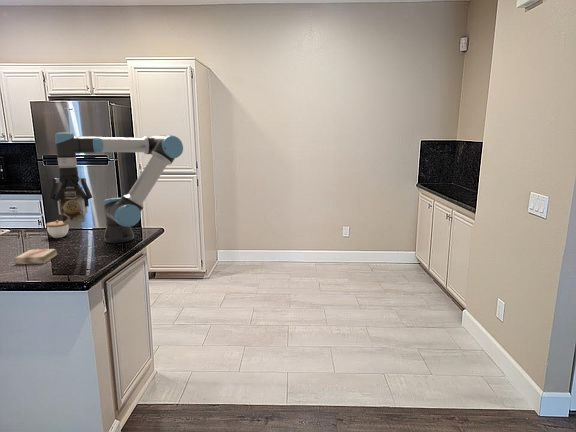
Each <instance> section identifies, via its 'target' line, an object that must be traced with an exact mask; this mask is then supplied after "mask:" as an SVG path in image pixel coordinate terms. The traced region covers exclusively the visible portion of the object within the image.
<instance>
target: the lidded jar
mask: <svg viewBox="0 0 576 432" xmlns="http://www.w3.org/2000/svg"><path fill="white" fill-rule="evenodd" d="M45 226H46V229H47V232H48V234H49V236H51V237H52V238H53V239H58V238H63V237H66V235H67V234H68V233H69V229H70V227H69V226H70V225H69V223H65V224H63V220H59V219H56V220H55V221H50V222H47V223H46V225H45Z"/></svg>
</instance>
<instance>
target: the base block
mask: <svg viewBox="0 0 576 432" xmlns="http://www.w3.org/2000/svg"><path fill="white" fill-rule="evenodd" d="M57 255H58V252H57V248H43V249H42V248H41V249H37V248H36V249H28V250H27V251H24V252H23V253H21V254H19V255H17V256H15V257H14V261H15V265H32V264H34V265H35V264H46V263H47V262H49V261H50V260H51V259H53V258H55V257H57Z"/></svg>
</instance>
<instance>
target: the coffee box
mask: <svg viewBox="0 0 576 432" xmlns="http://www.w3.org/2000/svg"><path fill="white" fill-rule="evenodd" d="M80 187H81V188H79V189H75V188H74V187H66V188H63V189H60V188H59V189H58V192H60V201H61V210H62V214H61V217H62V221H63V224H65V223H68V224H76V223H78V224H79V223H85V222H86V216H85V215H86V214H84V213H83V204H82V200H84V199H83V198H82V194H81V191H82V190H83V186H80Z"/></svg>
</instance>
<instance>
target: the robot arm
mask: <svg viewBox="0 0 576 432" xmlns="http://www.w3.org/2000/svg"><path fill="white" fill-rule="evenodd" d="M54 139H55V140H54V141H55V142H54V144H55V149H56V156H57V164H58V174H59V178H57V177H55V178H52V188H51V192H50V200H53V201H55V206H56V208H58V215H61V216H62V210H61V201H60V192H59V191H58V190H59V189H63V188H75V189H79V188H81V187H82V191H81V194H82V198H83V200H82V204H83V213H84V214H85V215H86V214H88V213H89V211H88V207H89V205H90V204H89V200H90V199H92V198H93V194H92V193H91V191H90V188H89V186H88V184H87V179H86V178H85V177H83V178H82V177H81V178H80V177H79V170H78V167H77V166H78V162H77V154H100V153H143V154H144V155H151V157H150V160H149V161H148V162H147V163H146V166H145V167H144V169H143V170H142V171H141V173H140V175H139V176H138V177H137V179H136V181H135V182H134V184H133V185H132V186H131V189H129V192H128V193H127V194H123V195H122V196H121V197H112V198H106V199H104V200H103V207H104V217H105V225H106V228H105V231H104V235H103V240H104V242H105V243H107V244H108V243H109V244H118V243H125V242H129V241H132V240H134V239H135V234H134V233H135V232H134V231H133V230H132V227H133V226H135V225H137V224H138V223H139V221H140V220H141V216H142V213H141V212H142V211H143V209H144V201H145V200H146V199H147V197H148V195H149V194H150V192H151V191H152V189H153V188H154V186H155V184H156V183H157V181H158V180H159V179H160V177H161V176H162V174H163V172H164V171H165V169H166V168H167V166H169V165H172V163H173V162H174V161H175V159H177V158H179V157H180V156H181V155H183V151H184V144H183V141H182V140H181V139H180V138H179V137H177V136H175V135H172V134H168V135H166V134H160V135H153V136H152V135H151V136H144V137H142V138H141V137H140V138H139V137H108V136H106V137H105V136H104V137H103V136H81V135H79V136H75V135H74V133H73V132H56V133H55V134H54ZM59 183H61V185H60V188H59ZM79 183H80V184H81V185H82V186H80V184H79ZM58 188H59V189H58Z"/></svg>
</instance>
